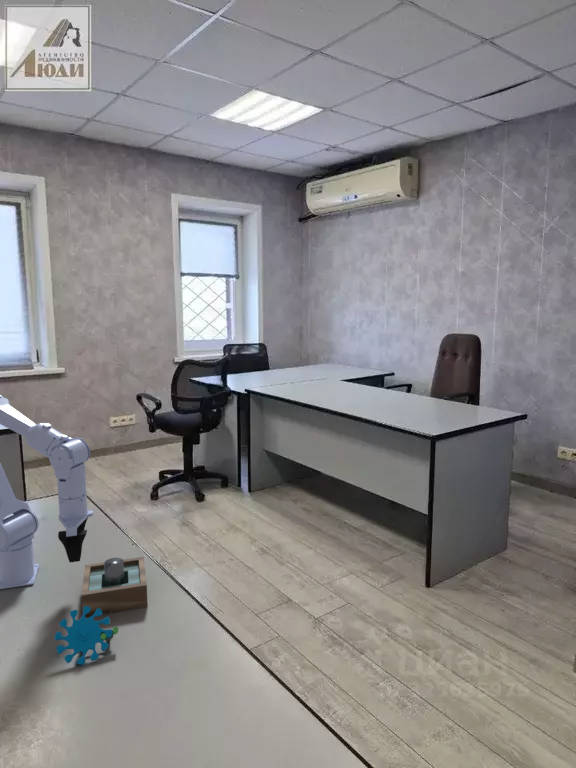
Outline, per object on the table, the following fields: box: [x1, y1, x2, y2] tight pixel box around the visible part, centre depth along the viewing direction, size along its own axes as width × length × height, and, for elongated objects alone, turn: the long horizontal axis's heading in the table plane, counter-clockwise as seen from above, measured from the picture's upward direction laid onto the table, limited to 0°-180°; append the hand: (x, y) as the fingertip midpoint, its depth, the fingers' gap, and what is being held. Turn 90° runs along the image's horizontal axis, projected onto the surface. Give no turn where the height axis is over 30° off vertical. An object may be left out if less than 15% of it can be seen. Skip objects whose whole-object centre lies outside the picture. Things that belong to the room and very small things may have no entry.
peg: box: [103, 557, 124, 587], centre depth 115 cm, size 4×4×7 cm
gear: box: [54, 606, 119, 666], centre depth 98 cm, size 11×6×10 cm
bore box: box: [81, 556, 148, 618], centre depth 115 cm, size 13×13×5 cm
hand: (76, 552), depth 115 cm, fingers open, 7 cm apart
